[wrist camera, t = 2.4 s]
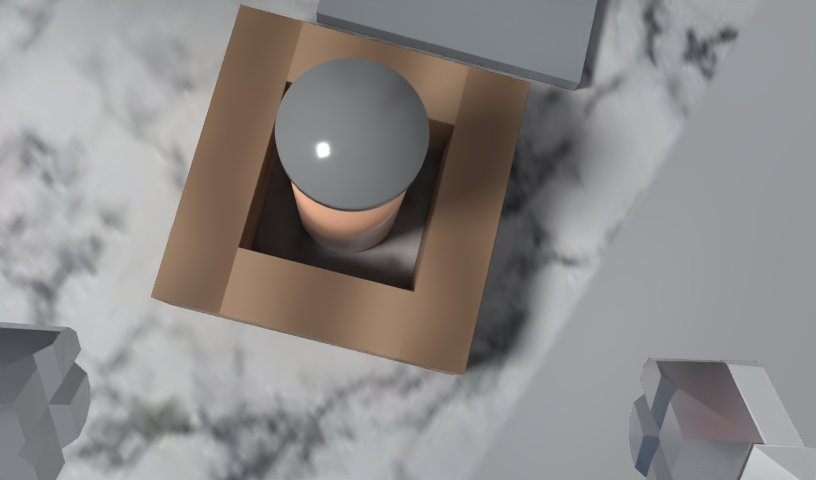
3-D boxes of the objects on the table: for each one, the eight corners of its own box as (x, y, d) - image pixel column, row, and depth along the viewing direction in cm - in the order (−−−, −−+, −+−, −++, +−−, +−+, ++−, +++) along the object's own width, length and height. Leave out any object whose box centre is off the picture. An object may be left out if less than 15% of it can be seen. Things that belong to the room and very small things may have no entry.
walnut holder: (170, 304, 37) (150, 296, 33) (250, 41, 40) (240, 4, 36) (451, 374, 38) (464, 374, 34) (511, 110, 40) (530, 82, 36)
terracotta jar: (281, 241, 38) (256, 183, 26) (309, 140, 39) (298, 40, 27) (387, 268, 38) (409, 223, 27) (412, 166, 39) (444, 79, 28)
